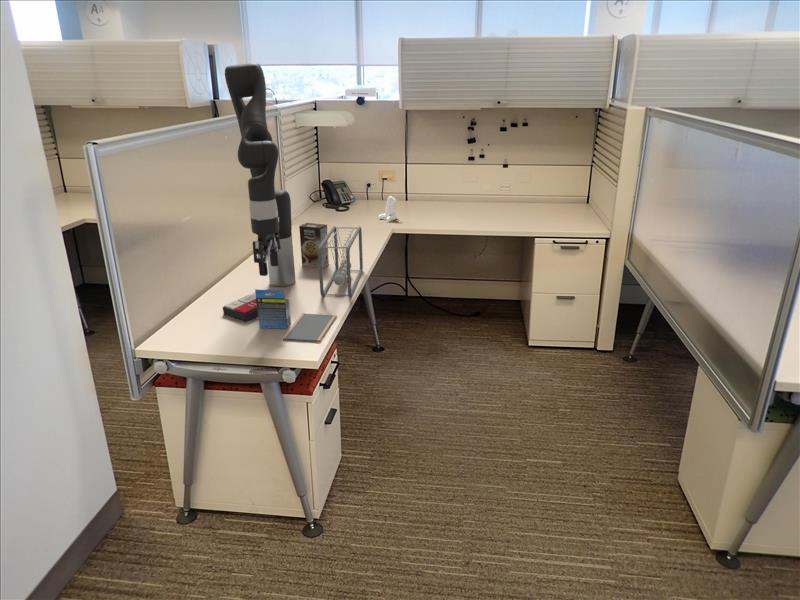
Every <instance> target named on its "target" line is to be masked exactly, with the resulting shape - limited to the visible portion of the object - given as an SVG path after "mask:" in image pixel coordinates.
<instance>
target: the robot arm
mask: <svg viewBox="0 0 800 600" xmlns="http://www.w3.org/2000/svg"><path fill="white" fill-rule="evenodd" d="M224 78H225V83H226V86H227V90H228V93H229V97H230V99H231V103H232V106H233V110H234V112H235V113H234V114H235V116H236V119H237V123H238V127H239V132H240V136H241V139H240V143H239V145H238V149H237V160H238V162H239V164H240V165H241V166H242V167H243V168H245V169H248V170H249V172H250V176H251V178H249V179H248V180H247V187H248V197H249V198H248V199H249V204H248V205H249V207H248V208H249V216H250V217H249V218H250V227H251V232H252V233H253V234H254V235H256V236H257V240H256V241H253V242H252V252H253V253H252V254H253V262H254V263H255V264H256V263H257V264H258V270H259V271H258V272H259V276H260V277H261V276H262V277H267V276H268V280H269V285H270V286H274V287H286V286H287V287H288V286H291V285H294V284H295V283H296V270H295V258H294V247H293V233H292V228H293V227H292V226H293V225H292V202H291V195H290V193H289V192H288V191H287V190H284V189H283V190H282V189H280V190H279V189H275V180H276V177H275V176H276V171H277V170H276V169H277V164H278V160H279V148H278V146H277V144H276V143H275V142H274V141H273V138H272V134H271V133H270V131H269V130H268V124H267V116H266V110H267V109H266V106H267V85H266V79H265V74H264V70H263V68H262V66H261V64H259V63H258V62H246V63H240V64H233V65H228V66H226V67H225V68H224ZM245 98H250V100H249V101H248V102H247V104H246V103H245V101H244V99H245Z"/></svg>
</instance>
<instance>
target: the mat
mask: <svg viewBox="0 0 800 600" xmlns="http://www.w3.org/2000/svg"><path fill="white" fill-rule="evenodd" d="M335 318H337V314H321V313H320V314H319V313H317V314H316V313H304V312H303V313H301V314H300V315H299V316H298V318H297V319H296V320H295V321H294V322H293V324H291V325H290V327H289V328H288V329H287V331H286V333H285V334H284V335H283V336H282V341H291V342H294V341H295V342H305V343H306V342H308V343H309V342H310V343H321V342H322V340H323V339H324V337H325V336H326V334H327V332H328V331H329V329H330V328H331V326H332V325H333V323H334V322H335V320H336V319H335ZM333 321H334V322H333Z"/></svg>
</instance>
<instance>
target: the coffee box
mask: <svg viewBox="0 0 800 600" xmlns="http://www.w3.org/2000/svg"><path fill="white" fill-rule="evenodd" d="M298 230H299V239H300V240H299V242H300V253H301V266H302V267H308V268H317V269H319V264H318V247H319V246H320V244H321V243H322V241H323V240H324V239H325V237H326V236H327V234H328V224H322V223H313V222H305V223H303V224H301V225H299V229H298ZM328 240H329V239H328ZM328 240H327V242H326V243H325V244H324V246H323V247H326V246H327V244H328V243H329V241H328ZM327 247H329V245H328V246H327ZM321 257H322V269H323V268H325V267H326V266H328V265H329V264H330V260H329V248H322V250H321Z"/></svg>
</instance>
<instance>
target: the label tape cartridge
mask: <svg viewBox="0 0 800 600" xmlns="http://www.w3.org/2000/svg"><path fill="white" fill-rule="evenodd" d="M254 293H256V302H257V311H258V318H257V319H258V327H259V328H260V329H284V330H289V329H290V327H291V326H292V321H291V312H290V311H291V309H290V300H289V298H286V297H285V291H284V290H280V289H279V290H277V289H273V290H272V289H254ZM265 294H270V295H274V296H269V295H265Z"/></svg>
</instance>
